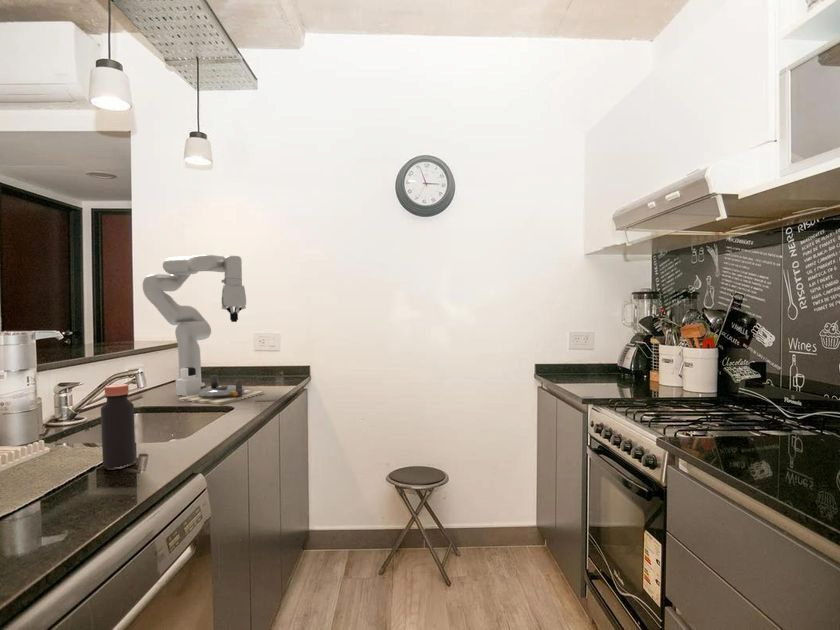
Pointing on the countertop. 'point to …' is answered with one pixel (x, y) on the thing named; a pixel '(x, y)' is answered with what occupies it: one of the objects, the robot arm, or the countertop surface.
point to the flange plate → (219, 389)
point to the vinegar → (117, 427)
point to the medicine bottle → (188, 382)
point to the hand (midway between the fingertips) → (234, 321)
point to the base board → (223, 399)
